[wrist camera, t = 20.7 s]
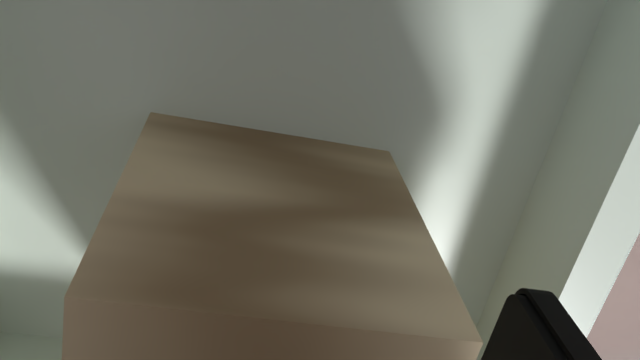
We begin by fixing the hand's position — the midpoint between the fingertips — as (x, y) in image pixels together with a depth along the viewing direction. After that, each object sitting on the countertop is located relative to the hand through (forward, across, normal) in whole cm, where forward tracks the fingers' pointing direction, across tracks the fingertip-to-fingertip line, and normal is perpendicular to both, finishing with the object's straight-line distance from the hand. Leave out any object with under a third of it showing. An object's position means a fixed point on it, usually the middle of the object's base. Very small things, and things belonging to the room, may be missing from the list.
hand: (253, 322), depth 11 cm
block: (+3, 0, 0) cm, 3 cm away
